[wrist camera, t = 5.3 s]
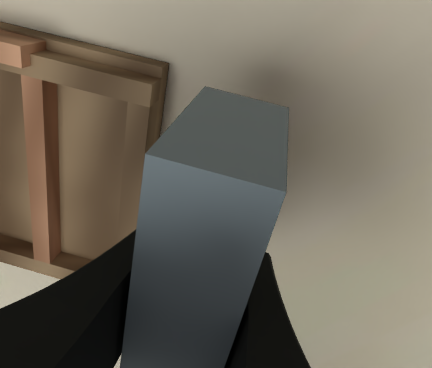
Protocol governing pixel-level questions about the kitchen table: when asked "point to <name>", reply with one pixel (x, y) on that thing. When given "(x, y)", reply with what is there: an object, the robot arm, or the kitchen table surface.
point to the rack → (71, 147)
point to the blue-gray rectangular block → (203, 229)
